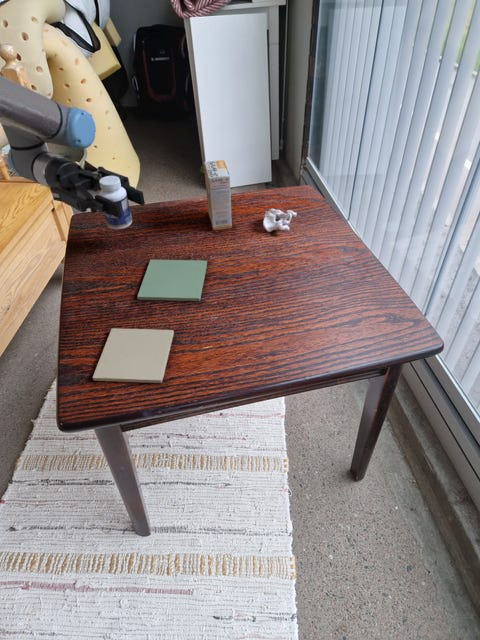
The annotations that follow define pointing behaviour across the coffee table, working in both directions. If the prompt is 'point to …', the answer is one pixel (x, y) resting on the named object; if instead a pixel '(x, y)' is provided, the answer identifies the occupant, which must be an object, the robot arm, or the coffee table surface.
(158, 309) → the coffee table surface
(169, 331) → the cream mat
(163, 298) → the sage mat
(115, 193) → the pill bottle
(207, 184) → the supplement box
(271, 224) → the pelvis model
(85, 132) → the robot arm
